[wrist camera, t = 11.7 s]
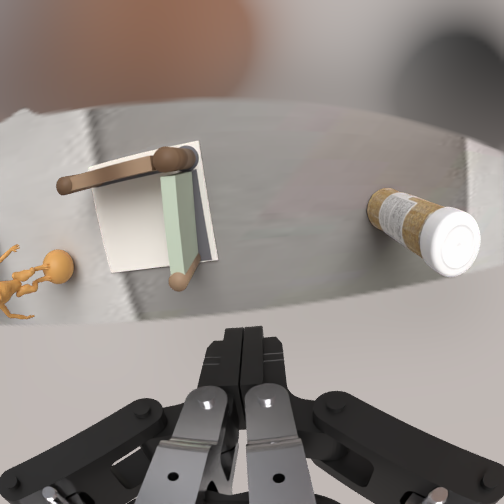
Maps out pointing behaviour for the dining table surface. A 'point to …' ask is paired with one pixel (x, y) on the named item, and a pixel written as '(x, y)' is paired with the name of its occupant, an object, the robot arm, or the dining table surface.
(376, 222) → the sprinkles bottle
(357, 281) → the dining table surface
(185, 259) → the swing panel
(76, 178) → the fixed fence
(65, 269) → the figurine
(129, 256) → the card
